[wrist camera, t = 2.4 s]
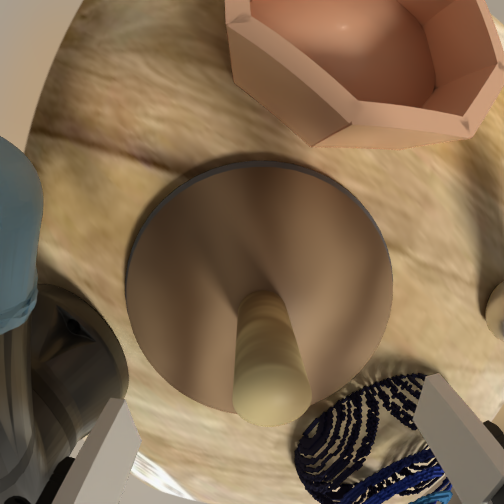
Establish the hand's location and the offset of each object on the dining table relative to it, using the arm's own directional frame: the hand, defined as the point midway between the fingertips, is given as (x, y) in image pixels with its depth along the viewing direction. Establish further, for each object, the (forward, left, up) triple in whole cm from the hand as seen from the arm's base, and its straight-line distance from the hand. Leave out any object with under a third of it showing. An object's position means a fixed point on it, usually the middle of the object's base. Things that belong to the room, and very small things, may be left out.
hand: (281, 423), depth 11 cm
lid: (0, 0, -12) cm, 12 cm away
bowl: (+8, +21, -13) cm, 26 cm away
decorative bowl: (+13, -19, -13) cm, 26 cm away
